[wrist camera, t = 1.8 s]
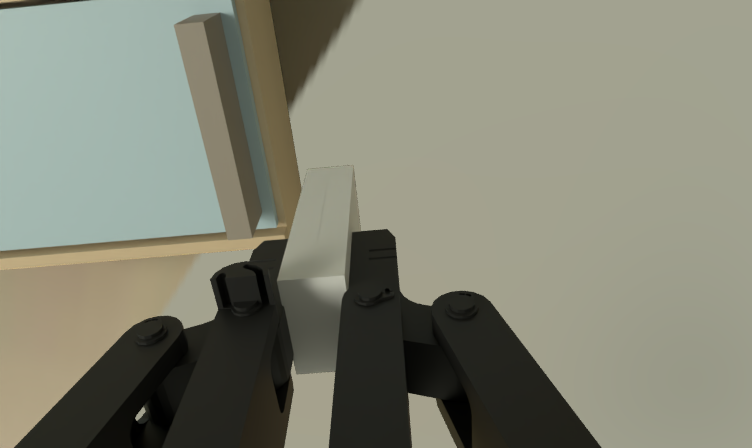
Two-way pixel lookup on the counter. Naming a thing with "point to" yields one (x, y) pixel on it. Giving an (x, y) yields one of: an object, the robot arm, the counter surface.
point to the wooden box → (276, 147)
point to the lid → (127, 124)
